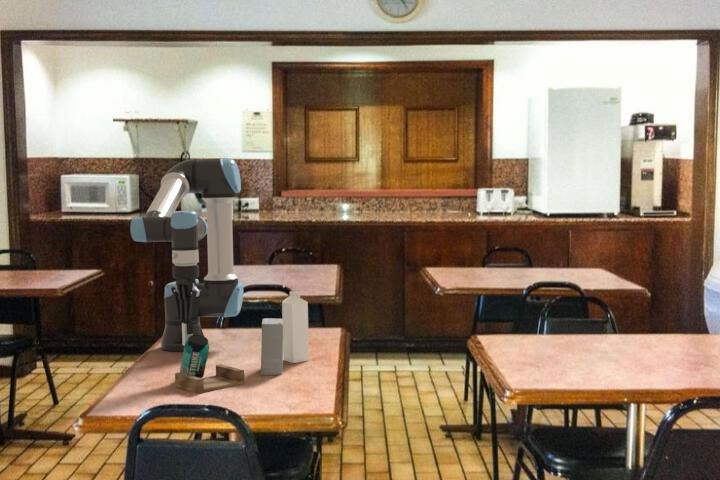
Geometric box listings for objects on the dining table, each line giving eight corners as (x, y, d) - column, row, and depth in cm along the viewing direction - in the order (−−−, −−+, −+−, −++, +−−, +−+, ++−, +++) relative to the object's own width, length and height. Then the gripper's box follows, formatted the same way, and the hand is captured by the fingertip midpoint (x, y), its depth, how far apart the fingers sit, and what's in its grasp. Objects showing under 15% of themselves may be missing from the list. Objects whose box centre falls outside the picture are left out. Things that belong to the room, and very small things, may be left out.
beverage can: (207, 374, 257) (214, 339, 252) (195, 384, 250) (202, 349, 246) (187, 365, 258) (194, 330, 254) (174, 375, 252) (181, 339, 248)
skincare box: (261, 369, 266) (259, 318, 265) (284, 368, 267) (283, 317, 265) (260, 375, 258) (259, 323, 256) (284, 375, 258) (283, 322, 257)
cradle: (175, 386, 246) (175, 373, 246) (221, 376, 257) (220, 364, 257) (198, 393, 238) (197, 380, 238) (244, 383, 249) (244, 370, 249)
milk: (293, 363, 274) (291, 294, 272) (283, 360, 278) (281, 292, 276) (309, 360, 277) (307, 292, 275) (299, 357, 282) (297, 290, 280)
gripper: (162, 263, 254) (164, 343, 256) (186, 267, 245) (189, 349, 247) (184, 261, 260) (186, 340, 261) (209, 264, 250) (211, 345, 252)
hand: (187, 344), depth 254 cm, fingers closed
